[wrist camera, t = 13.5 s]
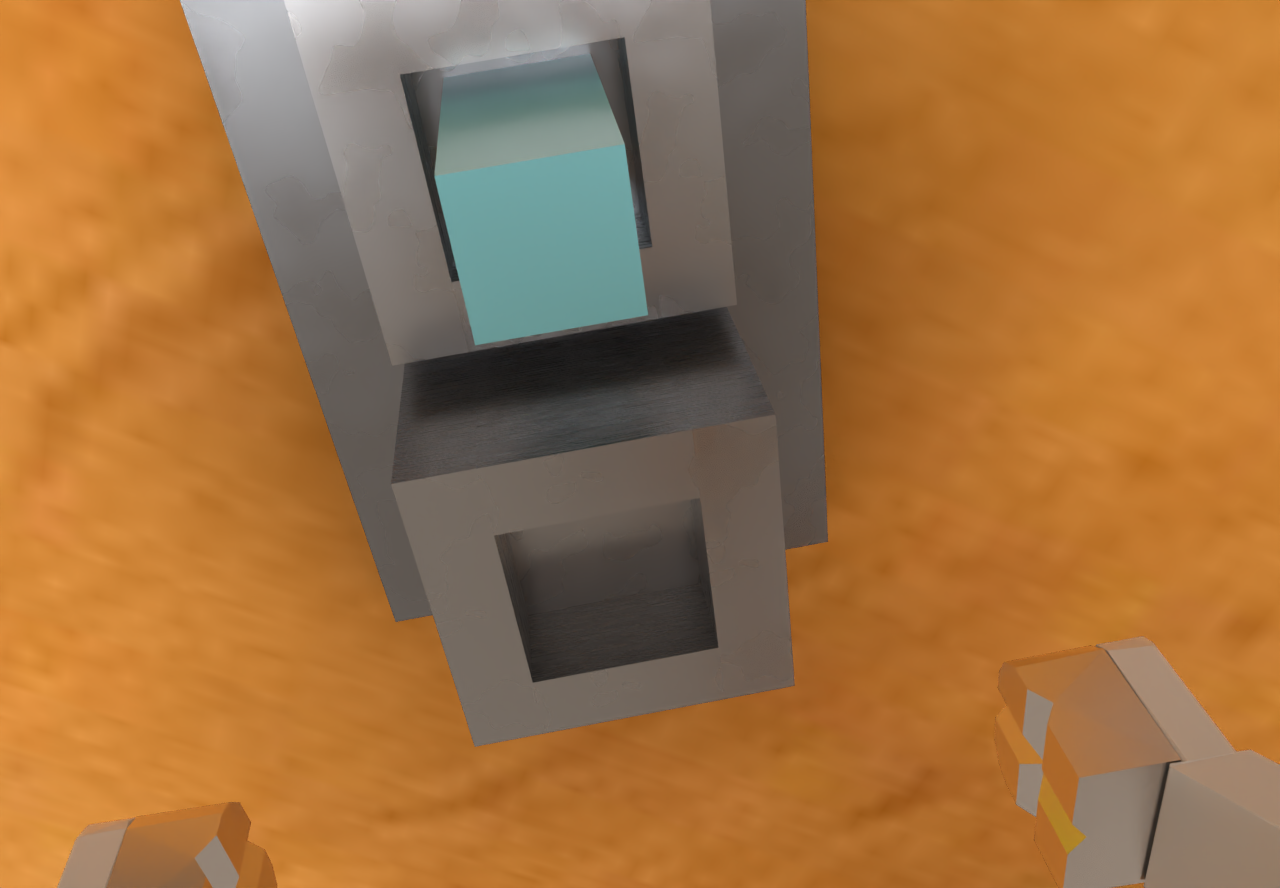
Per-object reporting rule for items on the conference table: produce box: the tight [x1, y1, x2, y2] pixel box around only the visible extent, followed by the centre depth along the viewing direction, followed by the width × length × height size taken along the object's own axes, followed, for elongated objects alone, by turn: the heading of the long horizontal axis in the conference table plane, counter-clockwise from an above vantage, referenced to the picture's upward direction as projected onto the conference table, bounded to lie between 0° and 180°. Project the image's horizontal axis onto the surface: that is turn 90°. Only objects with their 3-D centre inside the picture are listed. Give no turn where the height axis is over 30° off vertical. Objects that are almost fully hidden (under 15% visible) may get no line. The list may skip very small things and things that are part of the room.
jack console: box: [180, 0, 828, 746], centre depth 31 cm, size 22×16×8 cm
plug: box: [434, 54, 648, 345], centre depth 27 cm, size 4×4×8 cm
